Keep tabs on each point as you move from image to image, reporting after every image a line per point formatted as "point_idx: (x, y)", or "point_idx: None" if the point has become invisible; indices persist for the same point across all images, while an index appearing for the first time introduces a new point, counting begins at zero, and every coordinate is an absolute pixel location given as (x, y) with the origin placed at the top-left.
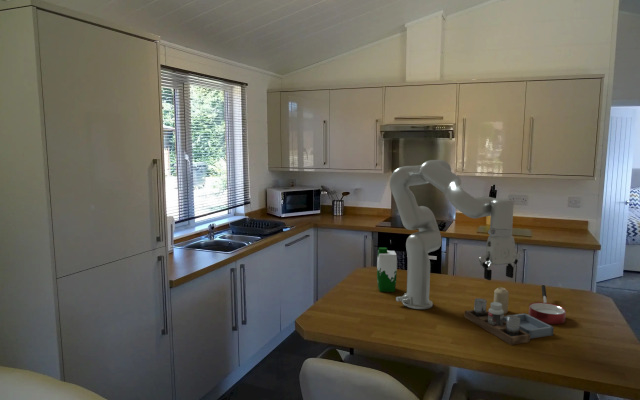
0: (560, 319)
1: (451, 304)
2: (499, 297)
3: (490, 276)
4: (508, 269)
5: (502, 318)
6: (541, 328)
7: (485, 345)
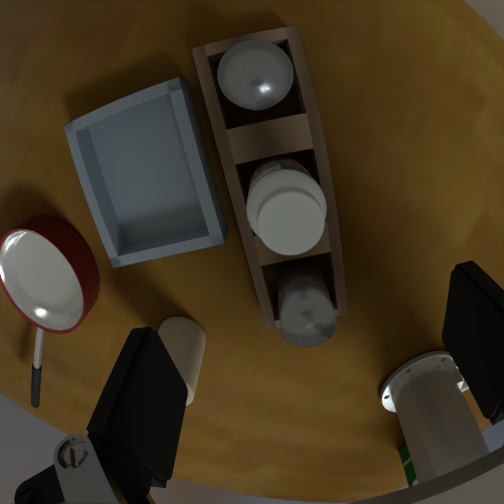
0: (22, 223)
1: (324, 387)
2: (183, 365)
3: (490, 284)
4: (157, 434)
5: (262, 172)
6: (112, 106)
7: (392, 49)
